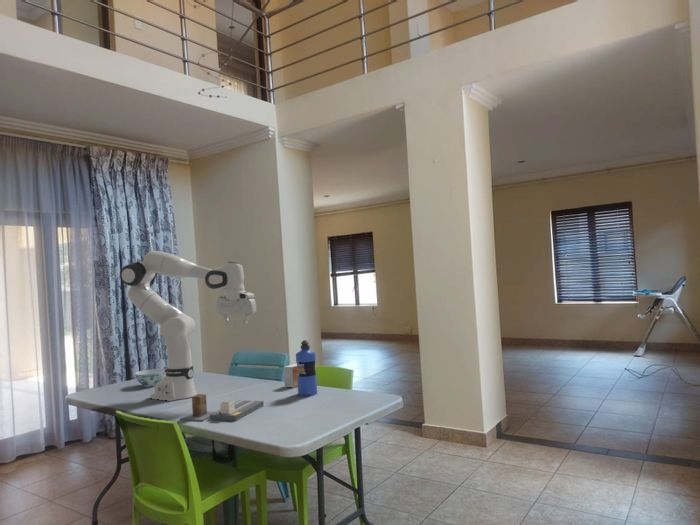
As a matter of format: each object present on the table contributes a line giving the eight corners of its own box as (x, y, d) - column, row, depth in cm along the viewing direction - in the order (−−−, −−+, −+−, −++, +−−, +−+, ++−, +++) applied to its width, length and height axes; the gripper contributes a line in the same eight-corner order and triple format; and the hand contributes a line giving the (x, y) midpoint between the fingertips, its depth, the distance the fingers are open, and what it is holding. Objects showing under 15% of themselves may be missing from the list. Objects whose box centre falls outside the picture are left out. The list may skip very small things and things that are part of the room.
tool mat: (179, 420, 198) (179, 418, 198) (197, 412, 209) (196, 410, 209) (202, 421, 195) (202, 419, 195) (219, 413, 205) (218, 411, 205)
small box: (293, 388, 243) (292, 367, 243) (284, 387, 246) (283, 366, 246) (303, 384, 250) (302, 364, 250) (294, 384, 253) (293, 363, 253)
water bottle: (308, 390, 237) (306, 338, 237) (321, 393, 230) (318, 339, 231) (293, 394, 230) (290, 341, 231) (306, 397, 224) (303, 342, 224)
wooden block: (192, 416, 201) (191, 396, 201) (198, 413, 204) (197, 394, 204) (201, 416, 199) (200, 396, 199) (207, 413, 203) (206, 394, 203)
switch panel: (209, 419, 196) (209, 412, 196) (239, 404, 217) (239, 398, 217) (235, 421, 192) (235, 413, 193) (263, 405, 213) (263, 399, 213)
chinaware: (170, 384, 269) (169, 370, 269) (143, 390, 258) (143, 375, 258) (156, 381, 279) (155, 367, 279) (130, 387, 267) (129, 373, 268)
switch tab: (220, 413, 197) (220, 402, 197) (226, 410, 201) (225, 399, 201) (229, 414, 196) (228, 402, 196) (234, 411, 199) (234, 400, 199)
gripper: (213, 296, 236) (214, 325, 235) (250, 294, 229) (251, 324, 229) (220, 295, 242) (222, 323, 241) (257, 294, 235) (258, 322, 235)
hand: (236, 324), depth 235 cm, fingers open, 8 cm apart
